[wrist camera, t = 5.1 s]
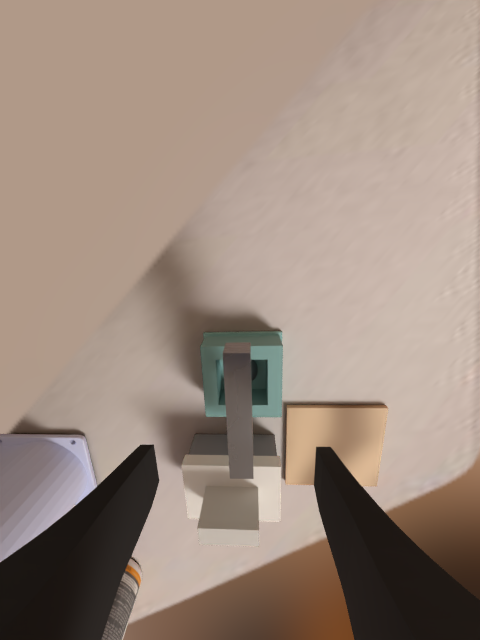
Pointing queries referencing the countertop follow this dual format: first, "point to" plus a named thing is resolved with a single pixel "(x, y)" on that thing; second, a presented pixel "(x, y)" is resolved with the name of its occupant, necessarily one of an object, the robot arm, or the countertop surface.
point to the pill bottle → (123, 602)
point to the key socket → (263, 386)
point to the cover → (231, 499)
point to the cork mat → (335, 439)
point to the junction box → (219, 445)
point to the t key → (239, 407)
